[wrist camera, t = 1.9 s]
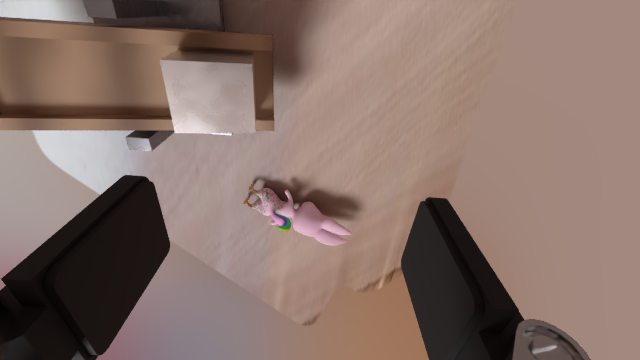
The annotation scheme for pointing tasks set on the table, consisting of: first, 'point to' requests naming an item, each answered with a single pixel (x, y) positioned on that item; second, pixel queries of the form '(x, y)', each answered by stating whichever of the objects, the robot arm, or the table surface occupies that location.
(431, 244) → the robot arm
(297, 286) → the table surface
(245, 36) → the balance beam
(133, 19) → the pivot stand
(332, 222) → the pink animal figure
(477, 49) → the table surface
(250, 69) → the white block
